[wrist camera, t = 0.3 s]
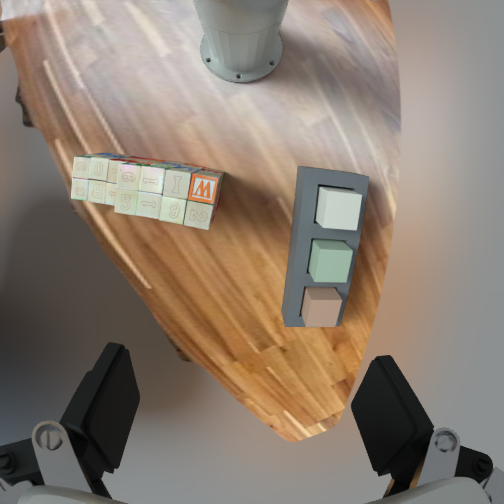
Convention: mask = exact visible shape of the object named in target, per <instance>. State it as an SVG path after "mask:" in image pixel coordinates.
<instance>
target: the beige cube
mask: <svg viewBox="0 0 504 504" xmlns="http://www.w3.org/2000/svg"><path fill="white" fill-rule="evenodd" d="M341 303H342V299H341V297H340V296H339V294H338V292H337V291H336V289H335V288H334V287H306V286H304V291H303V297H302V303H301V308H300V311H301V314H302V317H303V320H304V323H305V326H306V327H335V326H336V322H337V319H338V315H339V311H340V307H341Z"/></svg>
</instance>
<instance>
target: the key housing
mask: <svg viewBox="0 0 504 504" xmlns="http://www.w3.org/2000/svg"><path fill="white" fill-rule="evenodd" d="M368 183H369V176H365V175H361V174H357V173H351V172H344V171H337V170H330V169H322V168H313V167H304V166H298V170H297V182H296V192H295V202H294V212H293V222H292V231H291V240H290V248H289V257H288V265H287V273H286V281H285V289H284V296H283V303H282V316H283V320H284V324H285V327H306V326H305V323H304V320H303V317H302V314H301V311H300V308H301V303H302V297H303V291H304V286H306V287H334V288H335V289H336V291H337V292H338V294H339V296H340V297H341V299H342V303H341V307H340V311H339V315H338V319H337V322H336V326H340V323H341V320H342V316H343V312H344V308H345V304H346V300H347V296H348V292H349V288H350V284H351V279H352V275H353V270H354V266H355V261H356V256H357V251H358V246H359V241H360V235H361V230H362V224H363V218H364V212H365V205H366V198H367V191H368ZM318 186H324V187H333V188H341V189H349V190H351V191H354V192H356V193H359V194H361V195H362V199H361V206H360V213H359V219H358V225H357V230H345V229H332V228H323V227H322V226H321V225H320V224H319V223H318V222H317V221H316V220H315V219H314V215H315V207H316V198H317V189H318ZM311 238H319V239H334V240H342V241H343V242H344V243H345V244H346V245H347V246H349V247H350V248H351V249H352V250H353V253H352V258H351V263H350V268H349V272H348V277H347V282H346V283H345V282H314V280H313V278H312V276H311V274H310V272H309V270H308V268H307V266H308V259H309V253H310V246H311ZM313 328H315V327H313Z"/></svg>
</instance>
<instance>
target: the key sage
mask: <svg viewBox="0 0 504 504" xmlns="http://www.w3.org/2000/svg"><path fill="white" fill-rule="evenodd" d="M352 253H353V250H352V249H351V248H350V247H349V246H347V245H346V244H345V243H344V242H343V241H342V240H334V239H319V238H311V246H310V253H309V259H308V266H307V268H308V270H309V272H310V274H311V276H312V278H313V280H314V282H345V283H346V282H347V277H348V272H349V268H350V263H351V258H352Z"/></svg>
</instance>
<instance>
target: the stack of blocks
mask: <svg viewBox="0 0 504 504" xmlns="http://www.w3.org/2000/svg"><path fill="white" fill-rule="evenodd" d="M223 176H224V171H220V170H215V169H210V168H206V167H202V166H197V165H191V164H185V163H180V162H174V161H163V160H156V159H147V158H139V157H134V156H130V155H122V154H110V153H97V154H86V155H85V156H76V157H74V165H73V174H72V177H73V179H72V191H71V198H72V199H79V200H87V201H89V202H96V203H102V204H107V205H114V206H115V212H117V213H123V214H129V215H134V216H135V215H138V216H143V217H149V218H155V219H159V220H161V221H166V222H172V223H177V224H184V225H185V226H190V227H195V228H200V229H205V230H209V227H210V224H211V223H212V222H213V220H214V215H215V212H216V210H217V206H218V201H219V196H220V190H221V185H222V181H223Z"/></svg>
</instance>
